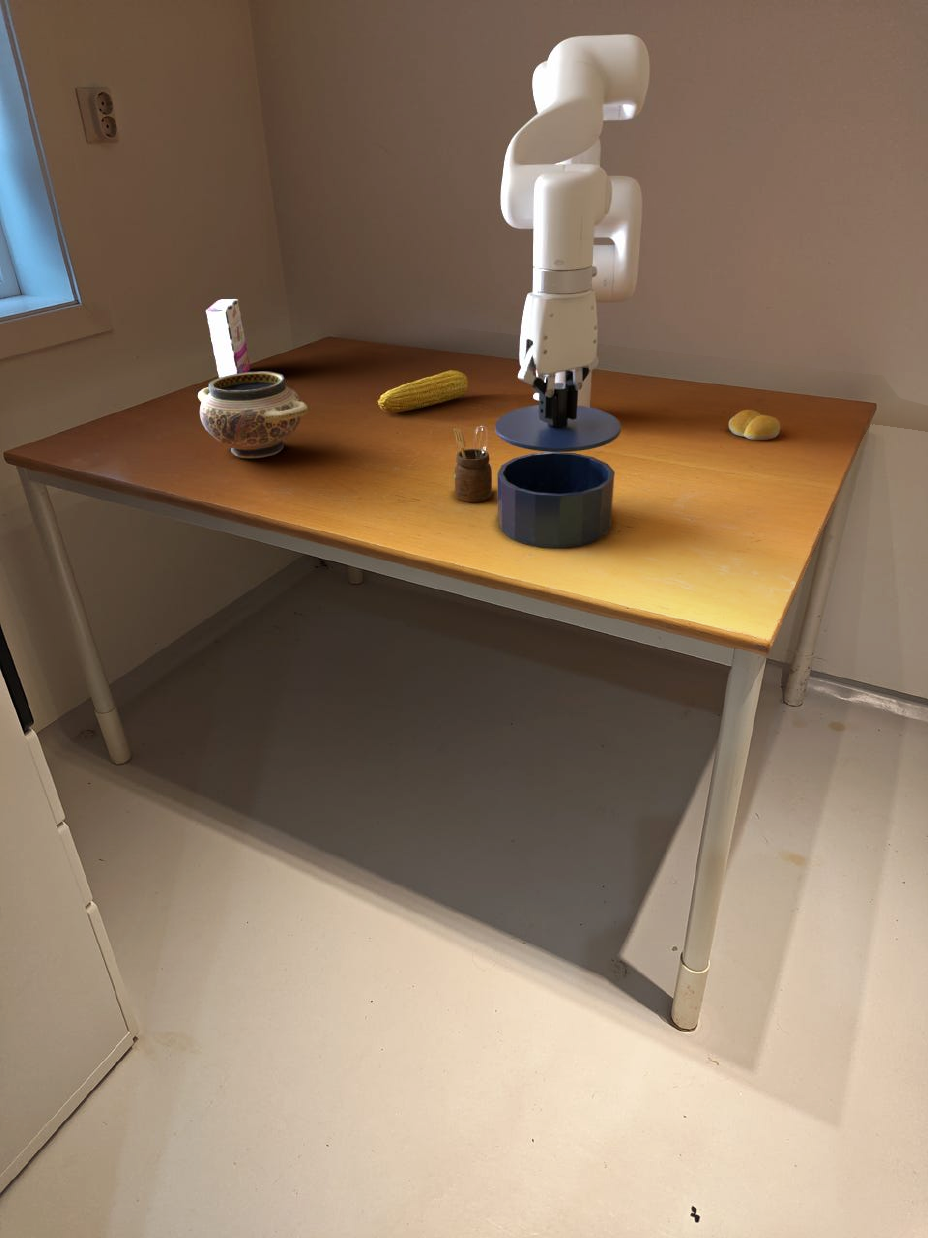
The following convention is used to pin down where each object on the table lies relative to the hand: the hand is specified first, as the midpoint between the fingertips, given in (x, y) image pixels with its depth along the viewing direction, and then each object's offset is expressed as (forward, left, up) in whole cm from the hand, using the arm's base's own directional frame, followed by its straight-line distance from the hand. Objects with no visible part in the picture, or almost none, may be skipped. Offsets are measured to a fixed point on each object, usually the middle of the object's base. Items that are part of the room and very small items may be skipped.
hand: (557, 418), depth 117 cm
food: (-60, +12, -16) cm, 64 cm away
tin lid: (0, 0, -1) cm, 1 cm away
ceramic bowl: (-56, -26, -16) cm, 64 cm away
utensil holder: (-15, -5, -16) cm, 23 cm away
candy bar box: (-107, -13, -16) cm, 109 cm away
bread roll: (-9, +53, -16) cm, 56 cm away
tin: (0, 0, -16) cm, 16 cm away
